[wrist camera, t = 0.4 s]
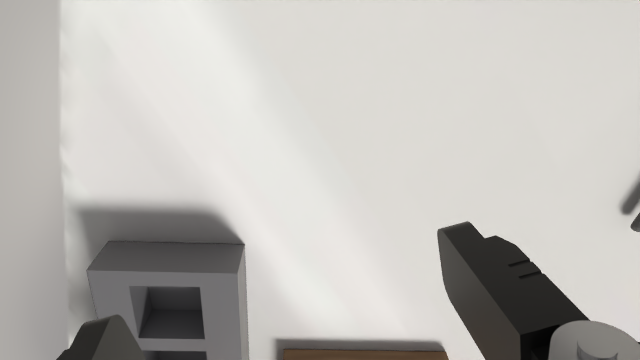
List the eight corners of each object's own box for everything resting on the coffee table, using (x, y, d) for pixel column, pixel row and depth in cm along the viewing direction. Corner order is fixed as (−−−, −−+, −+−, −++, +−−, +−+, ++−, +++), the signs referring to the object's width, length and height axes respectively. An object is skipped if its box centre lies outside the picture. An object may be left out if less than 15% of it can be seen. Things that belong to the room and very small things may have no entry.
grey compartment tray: (108, 241, 32) (86, 270, 29) (244, 244, 32) (237, 273, 29) (143, 415, 40) (129, 452, 37) (251, 416, 40) (246, 453, 37)
